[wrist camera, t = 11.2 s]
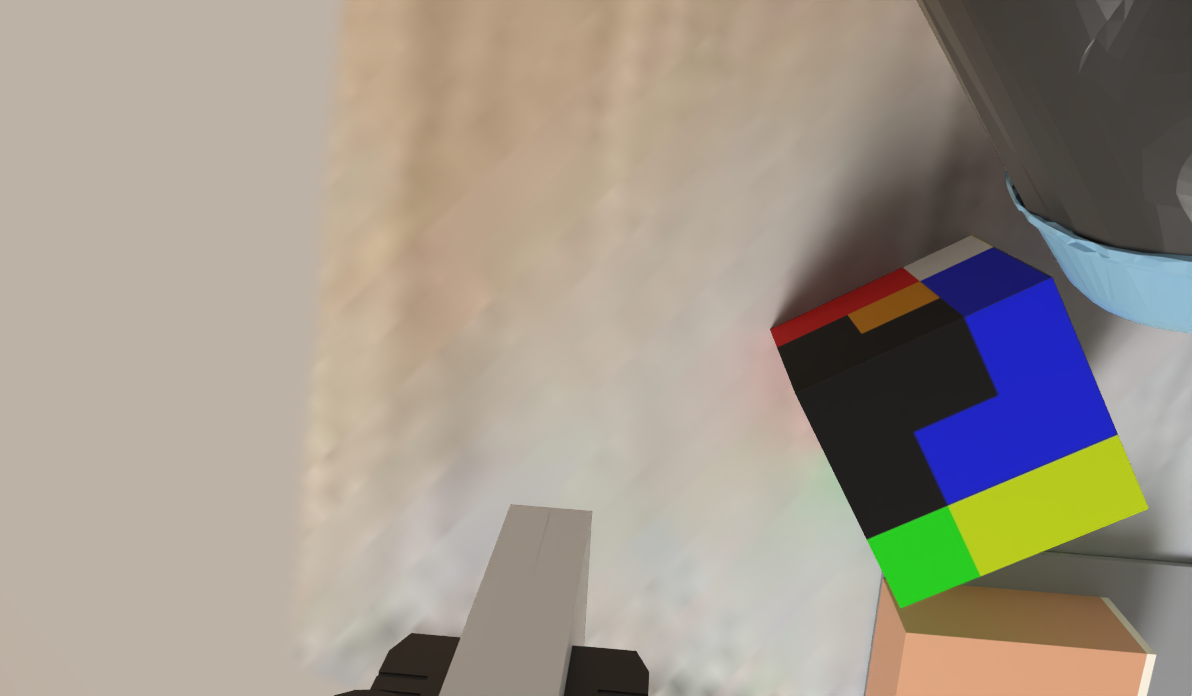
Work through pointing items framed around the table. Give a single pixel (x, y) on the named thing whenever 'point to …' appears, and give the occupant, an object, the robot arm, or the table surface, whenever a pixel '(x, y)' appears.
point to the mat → (1117, 602)
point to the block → (1006, 646)
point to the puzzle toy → (959, 417)
